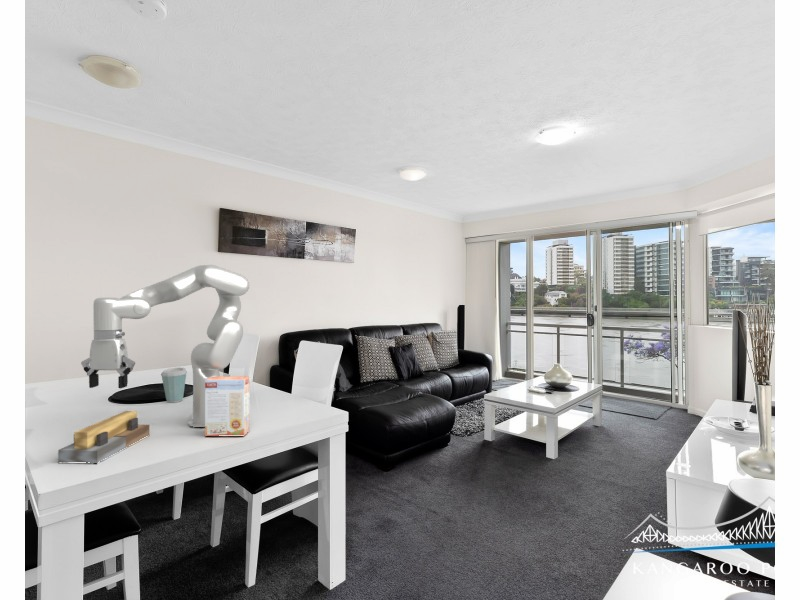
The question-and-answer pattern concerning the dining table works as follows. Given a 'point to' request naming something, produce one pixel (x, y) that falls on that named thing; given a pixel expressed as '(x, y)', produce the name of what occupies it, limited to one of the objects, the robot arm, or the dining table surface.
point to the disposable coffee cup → (174, 384)
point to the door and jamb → (105, 445)
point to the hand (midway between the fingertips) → (108, 387)
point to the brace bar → (103, 429)
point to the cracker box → (226, 406)
